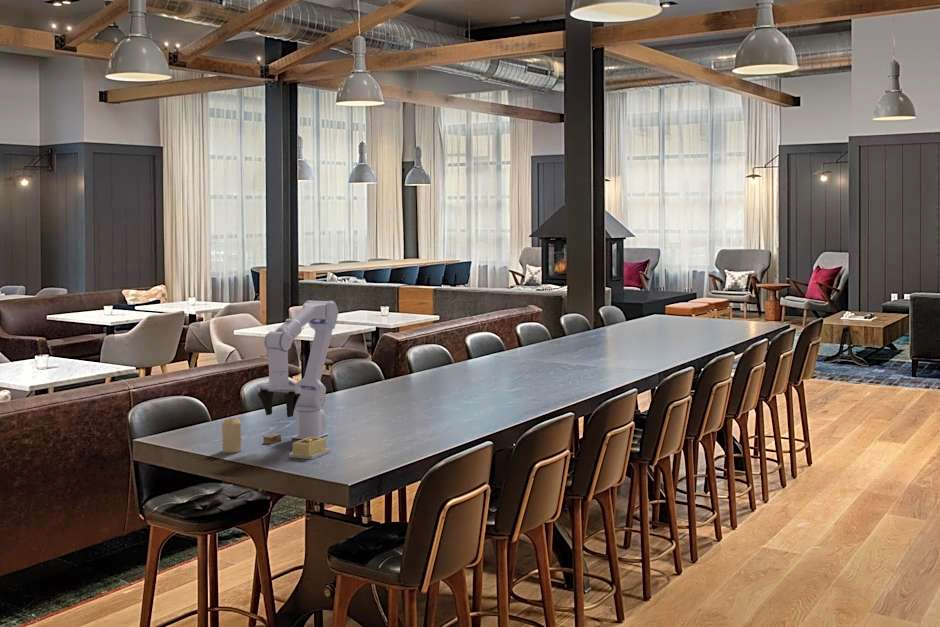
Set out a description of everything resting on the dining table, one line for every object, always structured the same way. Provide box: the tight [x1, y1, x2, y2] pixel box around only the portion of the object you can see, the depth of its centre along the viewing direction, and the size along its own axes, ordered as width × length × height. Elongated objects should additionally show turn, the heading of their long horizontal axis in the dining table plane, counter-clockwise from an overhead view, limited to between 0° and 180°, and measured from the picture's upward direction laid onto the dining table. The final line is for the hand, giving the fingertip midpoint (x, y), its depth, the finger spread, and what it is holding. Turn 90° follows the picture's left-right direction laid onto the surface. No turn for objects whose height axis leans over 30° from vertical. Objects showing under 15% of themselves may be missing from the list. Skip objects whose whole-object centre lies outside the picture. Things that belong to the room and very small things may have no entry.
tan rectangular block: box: [262, 433, 282, 445], centre depth 316 cm, size 5×3×2 cm, turn 156°
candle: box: [221, 417, 242, 454], centre depth 303 cm, size 6×6×10 cm
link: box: [292, 437, 327, 455], centre depth 298 cm, size 9×6×3 cm, turn 156°
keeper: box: [288, 439, 331, 460], centre depth 298 cm, size 10×8×4 cm
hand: (279, 415), depth 306 cm, fingers open, 7 cm apart
